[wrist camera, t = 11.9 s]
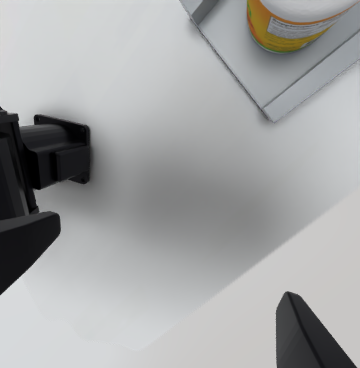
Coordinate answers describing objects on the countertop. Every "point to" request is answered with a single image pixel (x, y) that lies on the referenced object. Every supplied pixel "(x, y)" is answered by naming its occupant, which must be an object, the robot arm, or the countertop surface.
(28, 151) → the robot arm
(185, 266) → the countertop surface
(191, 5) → the tray
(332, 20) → the supplement bottle
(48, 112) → the countertop surface
